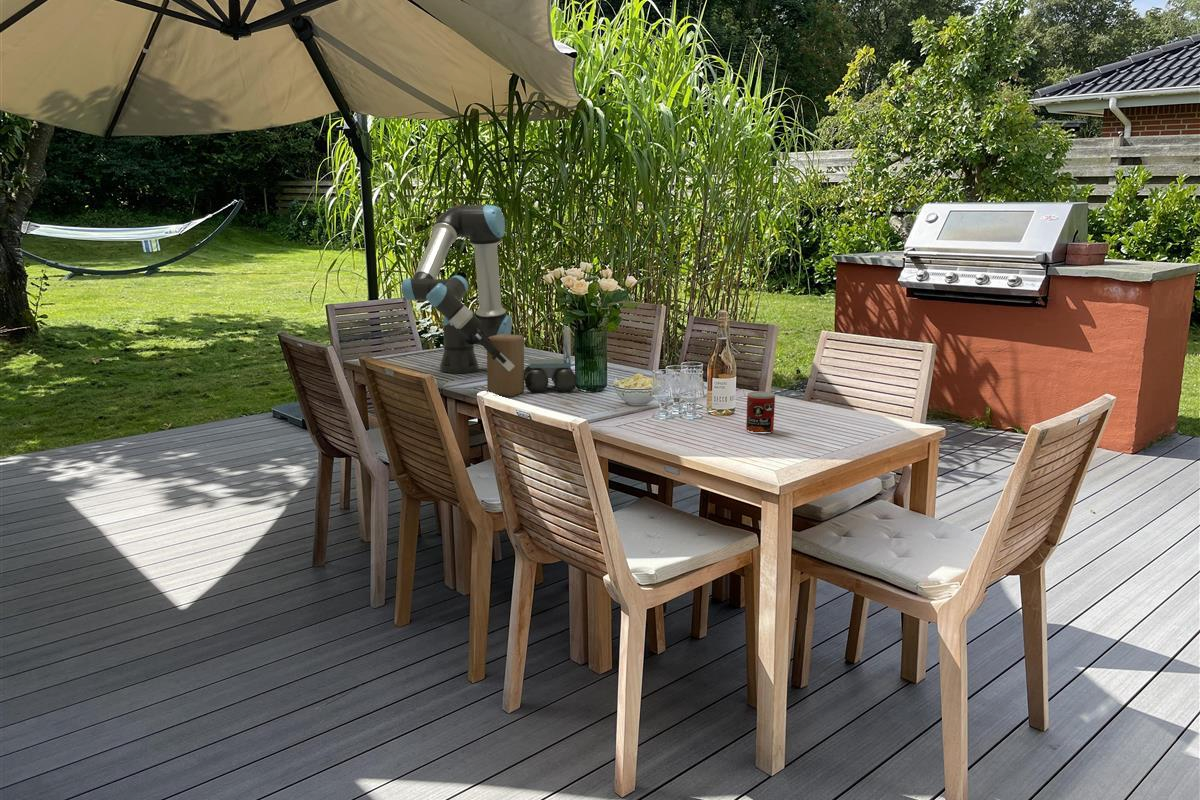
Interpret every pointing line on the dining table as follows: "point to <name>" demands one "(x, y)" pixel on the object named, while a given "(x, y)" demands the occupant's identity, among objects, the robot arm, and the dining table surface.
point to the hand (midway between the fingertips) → (511, 365)
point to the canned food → (760, 411)
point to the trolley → (552, 370)
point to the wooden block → (497, 374)
